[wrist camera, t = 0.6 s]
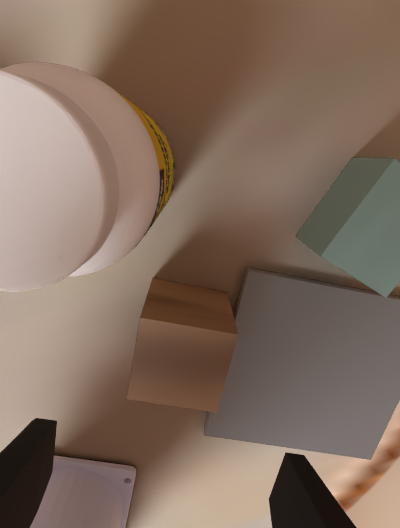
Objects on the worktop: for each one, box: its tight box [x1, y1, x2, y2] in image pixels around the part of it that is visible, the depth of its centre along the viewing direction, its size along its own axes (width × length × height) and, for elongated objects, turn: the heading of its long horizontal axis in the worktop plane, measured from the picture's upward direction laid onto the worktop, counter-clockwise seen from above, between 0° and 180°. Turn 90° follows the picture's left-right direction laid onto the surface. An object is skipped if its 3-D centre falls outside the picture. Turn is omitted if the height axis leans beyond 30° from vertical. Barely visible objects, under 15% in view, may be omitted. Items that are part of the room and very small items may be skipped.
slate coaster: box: [204, 267, 400, 460], centre depth 21 cm, size 12×12×1 cm
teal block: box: [296, 158, 400, 298], centre depth 17 cm, size 5×4×4 cm
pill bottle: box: [0, 62, 175, 291], centre depth 12 cm, size 6×6×11 cm
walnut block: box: [126, 278, 238, 413], centre depth 18 cm, size 4×4×5 cm
